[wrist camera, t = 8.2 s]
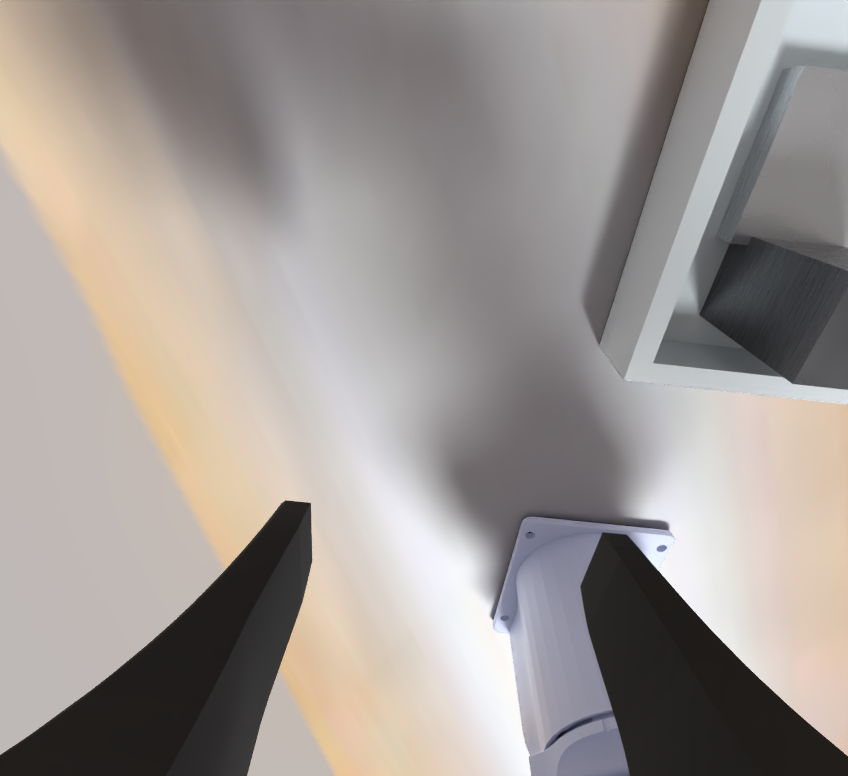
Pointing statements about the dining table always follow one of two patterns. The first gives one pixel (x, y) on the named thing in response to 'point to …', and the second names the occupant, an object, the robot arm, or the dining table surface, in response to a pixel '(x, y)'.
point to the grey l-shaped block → (791, 235)
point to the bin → (712, 198)
